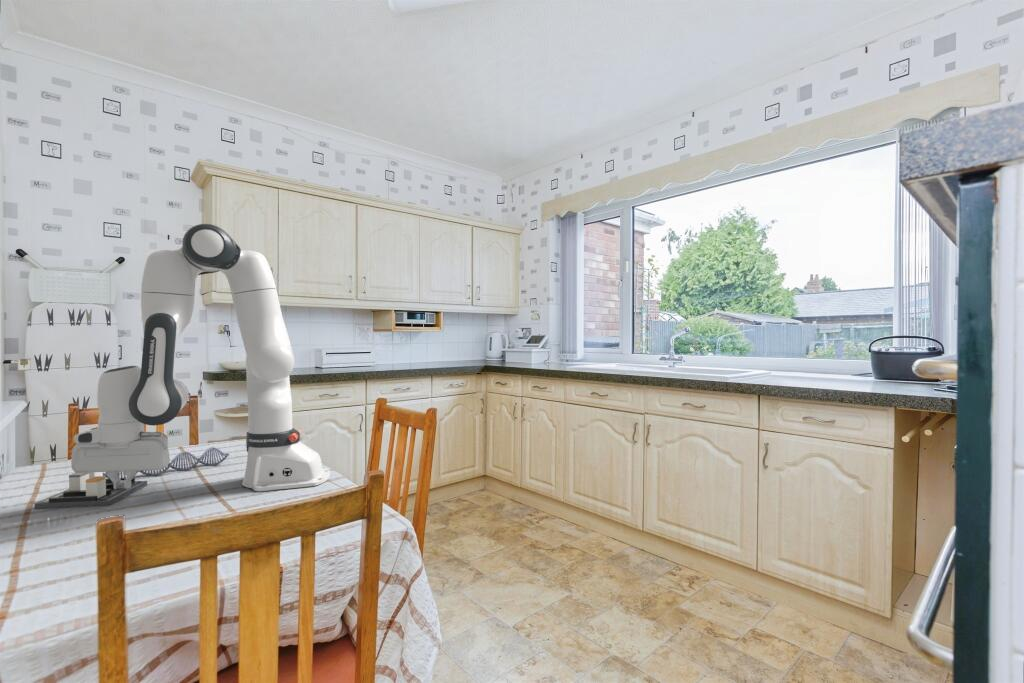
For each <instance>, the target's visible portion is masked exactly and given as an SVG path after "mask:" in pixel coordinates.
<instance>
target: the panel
mask: <svg viewBox="0 0 1024 683" xmlns="http://www.w3.org/2000/svg"><path fill="white" fill-rule="evenodd" d="M120 479H121V480H125V479H126V478H124V477H122V478H121V477H120ZM147 486H148V481H147V480H143V481H142V480H136V478H135V477H133V479H132V480H131V487H130V488H128V489H114V483H113V482H112V481H111V479H108V478H106V495H104V496H102V497H100V498H98V499H97V496H86V490H78V491H69V488H68V489H65V490H64V491H60V492H59V493H58V492H57V493H56V494H54V495H51V496H49V497H47V498H44V499H42V500H40V501H37V502H35V503H34V509H35V508H37V509H52V508H53V509H55V508H56V509H57V508H58V509H59V508H76V507H96V506H97V507H101V506H111V505H113V504H114V503H116V502H118V501H120V500H122V499H124V498H125V497H128V496H129V495H131V494H133V493H135V492H136V493H137V491H140V490H141V489H143V488H144V487H147Z"/></svg>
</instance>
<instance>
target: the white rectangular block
mask: <svg viewBox="0 0 1024 683" xmlns="http://www.w3.org/2000/svg"><path fill="white" fill-rule="evenodd" d="M87 479H89V472H87V473H75V472H74V473H71V474H69V475H68V489H69V491H78V490H86V480H87Z"/></svg>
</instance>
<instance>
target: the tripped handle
mask: <svg viewBox="0 0 1024 683" xmlns="http://www.w3.org/2000/svg"><path fill="white" fill-rule="evenodd" d="M106 479H107V478H106V476H94V477H92V478H90V479H87V480H86V496H97V499H98V498H100V497H102V496H104V495H106Z"/></svg>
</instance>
